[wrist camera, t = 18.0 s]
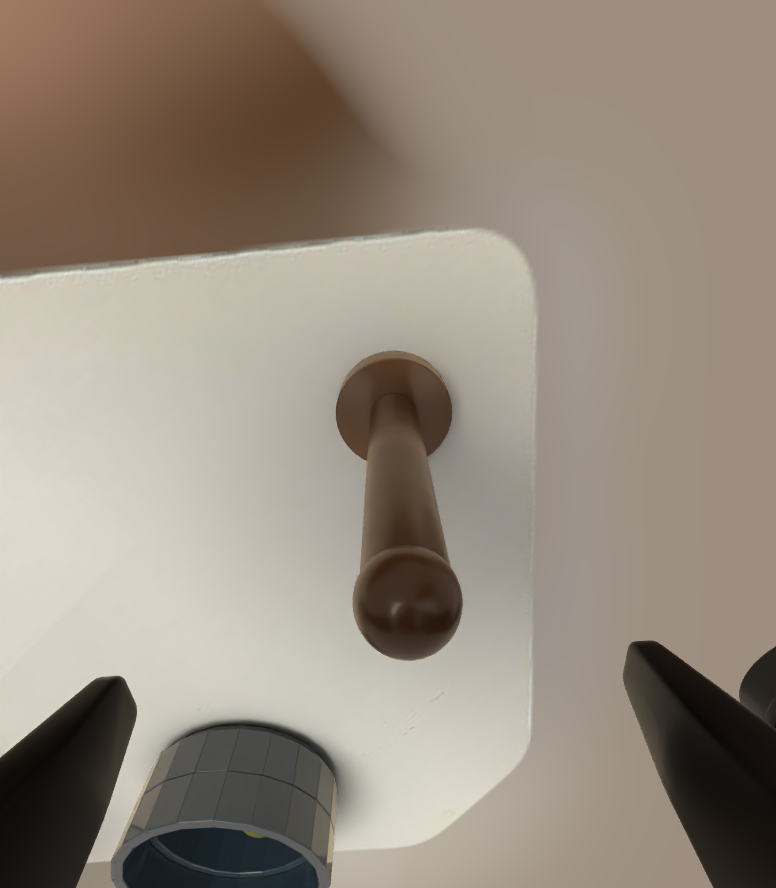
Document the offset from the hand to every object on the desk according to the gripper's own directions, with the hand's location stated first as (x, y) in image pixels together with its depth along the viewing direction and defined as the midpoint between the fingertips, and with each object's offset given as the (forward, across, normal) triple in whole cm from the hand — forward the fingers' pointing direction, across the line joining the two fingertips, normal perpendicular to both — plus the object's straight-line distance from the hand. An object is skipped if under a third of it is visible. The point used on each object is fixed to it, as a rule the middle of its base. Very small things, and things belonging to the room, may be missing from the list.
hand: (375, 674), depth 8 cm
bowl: (+12, +10, +23) cm, 27 cm away
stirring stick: (+12, -1, -1) cm, 12 cm away
